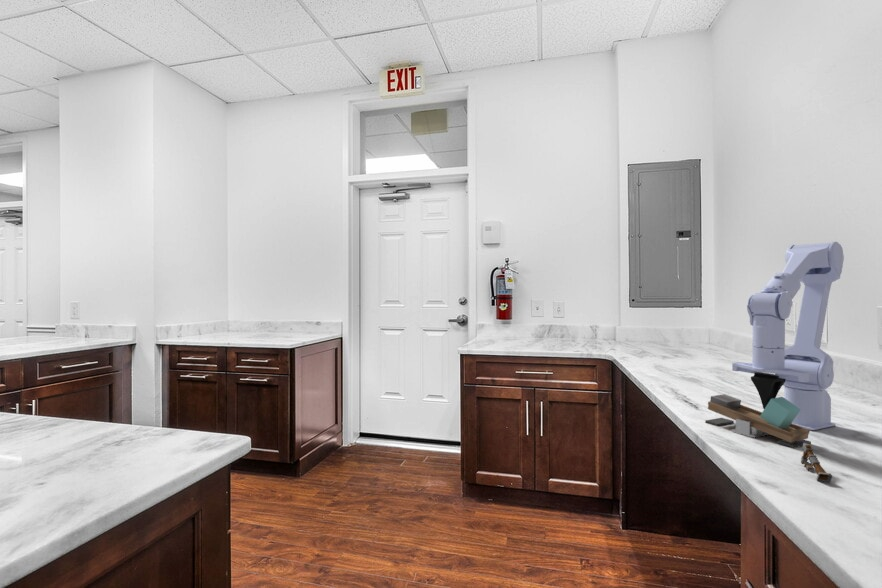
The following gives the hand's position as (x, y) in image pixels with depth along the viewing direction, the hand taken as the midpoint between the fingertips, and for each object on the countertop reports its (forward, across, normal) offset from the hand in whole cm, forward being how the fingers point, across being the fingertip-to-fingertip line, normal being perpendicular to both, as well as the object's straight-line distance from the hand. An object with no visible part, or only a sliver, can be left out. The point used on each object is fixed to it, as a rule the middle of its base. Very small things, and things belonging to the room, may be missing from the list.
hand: (767, 408), depth 97 cm
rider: (+2, +1, 0) cm, 3 cm away
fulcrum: (+6, -3, 0) cm, 7 cm away
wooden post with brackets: (+6, +15, -14) cm, 22 cm away
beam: (+4, -3, 0) cm, 5 cm away
